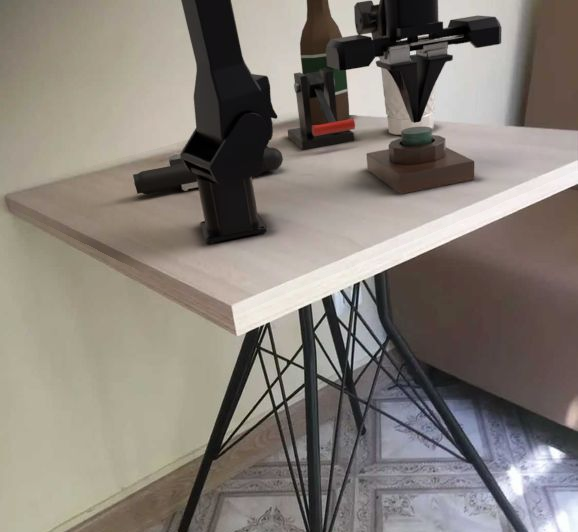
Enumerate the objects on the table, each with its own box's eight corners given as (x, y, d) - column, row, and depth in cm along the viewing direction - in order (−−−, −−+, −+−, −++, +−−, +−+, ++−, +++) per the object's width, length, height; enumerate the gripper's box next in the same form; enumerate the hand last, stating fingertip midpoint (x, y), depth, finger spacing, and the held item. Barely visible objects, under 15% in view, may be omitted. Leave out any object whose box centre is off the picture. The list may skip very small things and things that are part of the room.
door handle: (129, 158, 102) (132, 176, 88) (260, 134, 105) (285, 148, 91) (134, 180, 104) (138, 202, 89) (264, 156, 107) (288, 173, 92)
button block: (474, 179, 80) (474, 144, 78) (400, 194, 79) (398, 159, 77) (433, 157, 90) (432, 126, 88) (367, 170, 89) (365, 138, 87)
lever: (354, 133, 100) (355, 120, 98) (314, 141, 99) (314, 127, 97) (330, 82, 106) (331, 69, 104) (292, 89, 106) (292, 75, 104)
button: (437, 145, 81) (436, 130, 81) (408, 150, 81) (407, 135, 80) (425, 139, 85) (424, 124, 84) (397, 144, 84) (396, 130, 83)
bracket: (354, 140, 104) (348, 71, 100) (302, 149, 103) (294, 80, 99) (335, 128, 113) (330, 64, 108) (288, 137, 112) (280, 73, 107)
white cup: (425, 136, 101) (423, 63, 96) (376, 136, 105) (371, 65, 100) (445, 123, 106) (443, 53, 101) (397, 123, 110) (394, 56, 105)
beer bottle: (357, 113, 121) (345, -43, 110) (342, 124, 115) (327, -41, 104) (316, 115, 125) (300, -37, 113) (299, 125, 119) (280, -34, 107)
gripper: (459, -39, 82) (460, 99, 90) (307, -16, 80) (321, 124, 87) (505, -42, 72) (502, 112, 80) (333, -16, 70) (347, 140, 78)
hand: (415, 121), depth 81 cm, fingers closed
